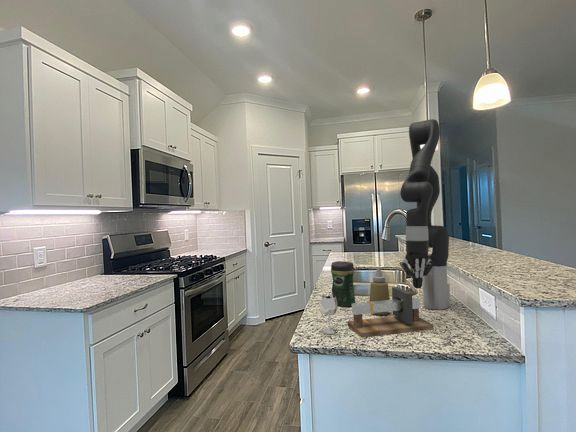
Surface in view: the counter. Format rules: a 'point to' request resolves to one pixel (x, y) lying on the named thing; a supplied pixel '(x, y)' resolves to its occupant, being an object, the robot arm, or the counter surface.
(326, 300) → the wineglass
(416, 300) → the grey square bar
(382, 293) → the squeeze bottle
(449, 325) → the counter surface
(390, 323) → the board
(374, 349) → the counter surface
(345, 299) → the coffee jar
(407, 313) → the dark grey flat piece
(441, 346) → the counter surface
